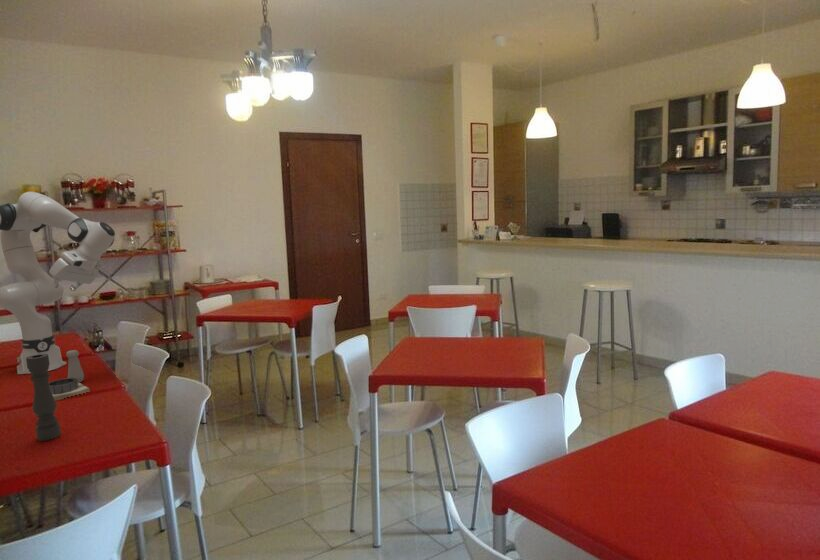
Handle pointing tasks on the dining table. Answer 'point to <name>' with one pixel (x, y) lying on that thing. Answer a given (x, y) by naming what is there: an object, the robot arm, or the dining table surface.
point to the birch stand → (72, 392)
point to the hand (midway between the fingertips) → (63, 288)
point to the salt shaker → (74, 366)
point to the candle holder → (43, 398)
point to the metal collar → (63, 385)
